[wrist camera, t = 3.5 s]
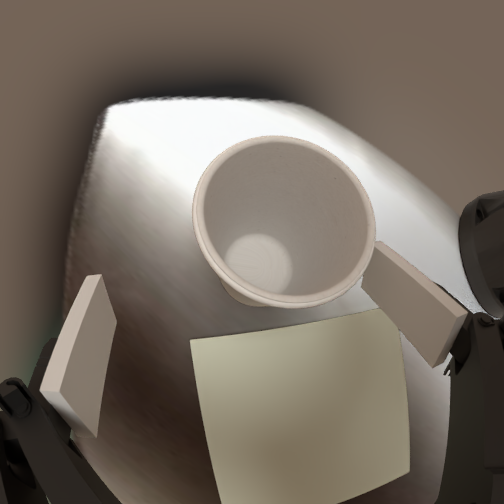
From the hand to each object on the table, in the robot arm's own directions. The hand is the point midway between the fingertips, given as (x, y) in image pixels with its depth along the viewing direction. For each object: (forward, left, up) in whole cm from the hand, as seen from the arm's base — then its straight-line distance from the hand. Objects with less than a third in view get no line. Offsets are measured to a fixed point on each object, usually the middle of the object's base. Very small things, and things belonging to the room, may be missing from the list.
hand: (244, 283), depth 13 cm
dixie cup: (-2, -3, -8) cm, 8 cm away
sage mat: (-5, +10, -8) cm, 14 cm away
